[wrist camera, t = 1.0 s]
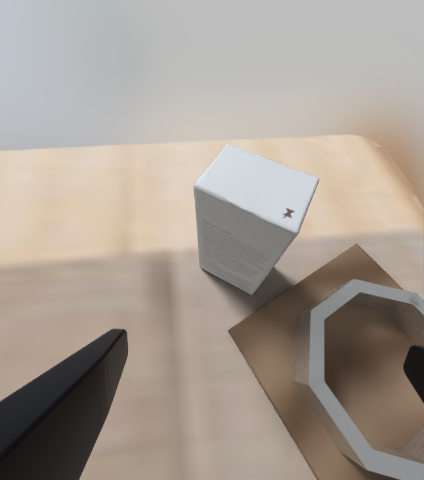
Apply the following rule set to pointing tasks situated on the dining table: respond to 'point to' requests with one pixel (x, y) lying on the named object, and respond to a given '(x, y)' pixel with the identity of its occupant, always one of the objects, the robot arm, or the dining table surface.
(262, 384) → the walnut board
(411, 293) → the steel ring
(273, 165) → the skincare box
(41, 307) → the dining table surface
